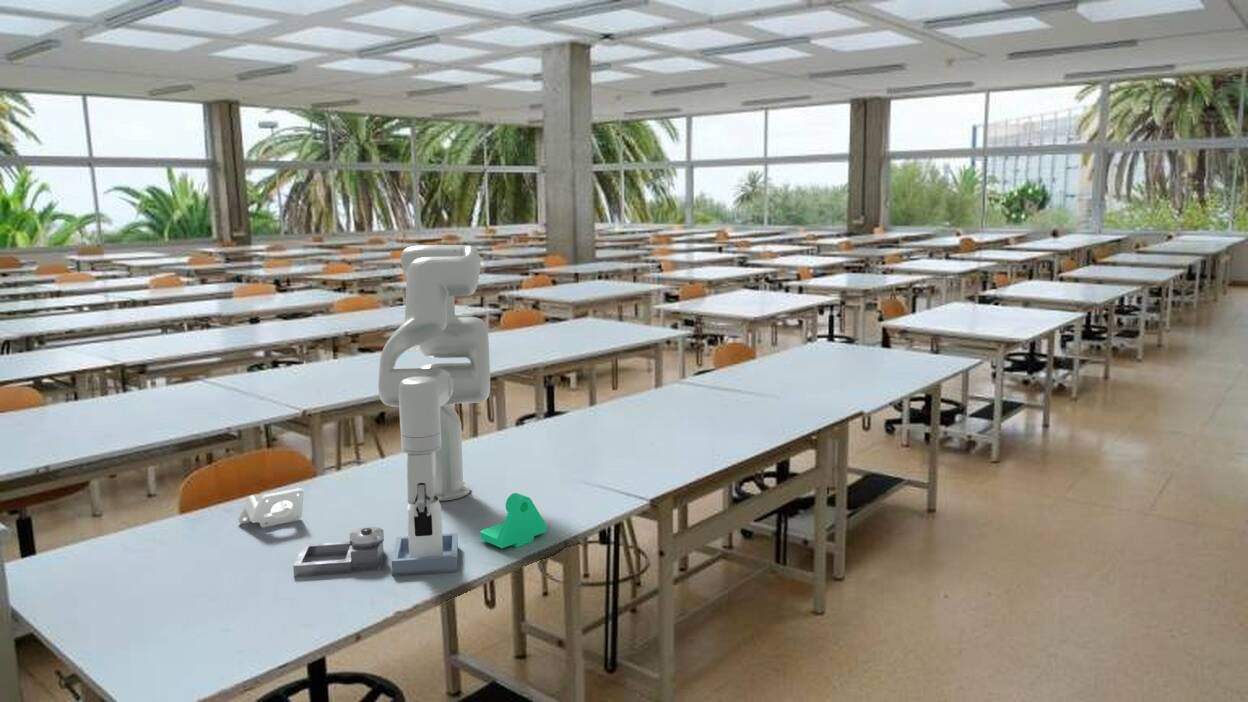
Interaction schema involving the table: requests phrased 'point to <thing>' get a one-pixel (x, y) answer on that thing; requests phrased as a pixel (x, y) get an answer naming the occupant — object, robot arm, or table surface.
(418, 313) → the robot arm
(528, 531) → the camera mount
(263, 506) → the mounting bracket
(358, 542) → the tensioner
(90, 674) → the table surface
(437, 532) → the can
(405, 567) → the tray
